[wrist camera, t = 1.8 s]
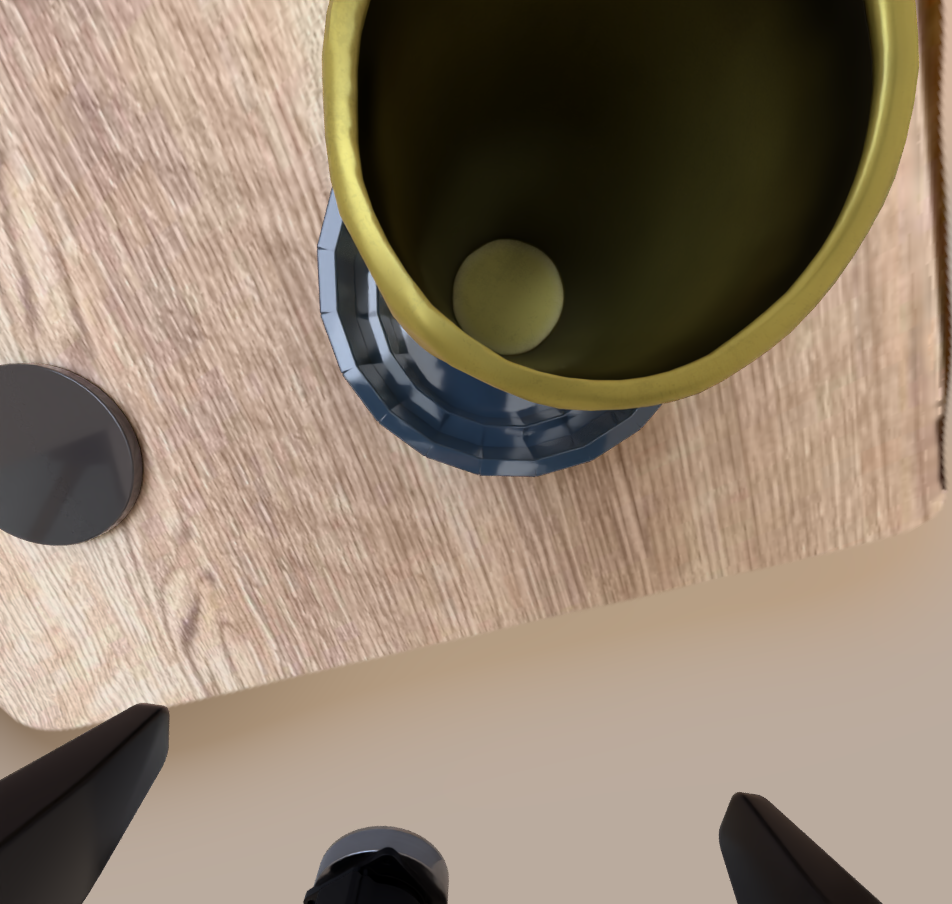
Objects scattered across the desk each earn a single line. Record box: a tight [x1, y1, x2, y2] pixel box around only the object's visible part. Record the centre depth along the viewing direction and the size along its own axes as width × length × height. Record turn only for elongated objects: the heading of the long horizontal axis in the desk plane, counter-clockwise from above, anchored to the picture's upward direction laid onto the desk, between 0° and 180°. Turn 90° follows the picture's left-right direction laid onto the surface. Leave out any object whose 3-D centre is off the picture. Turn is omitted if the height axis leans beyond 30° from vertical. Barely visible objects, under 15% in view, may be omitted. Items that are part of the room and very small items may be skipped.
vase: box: [322, 0, 919, 411], centre depth 11 cm, size 6×6×14 cm
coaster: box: [0, 363, 143, 546], centre depth 19 cm, size 8×8×1 cm
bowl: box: [317, 187, 662, 477], centre depth 16 cm, size 12×12×4 cm
